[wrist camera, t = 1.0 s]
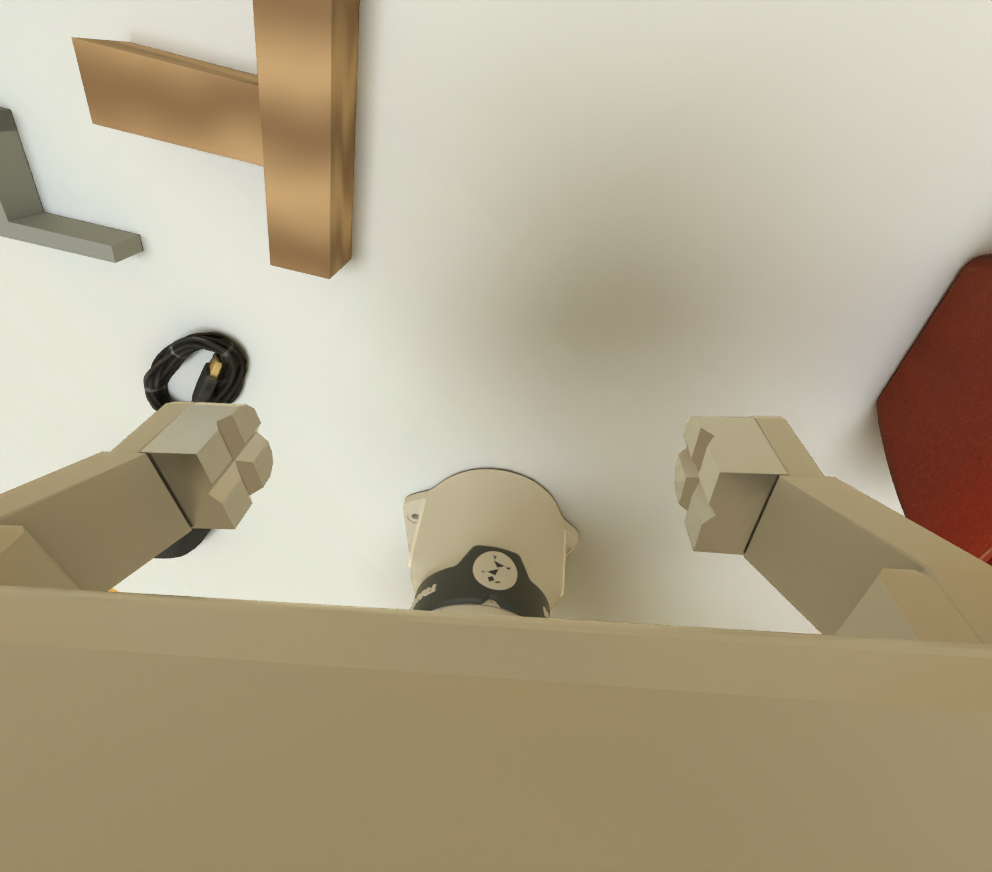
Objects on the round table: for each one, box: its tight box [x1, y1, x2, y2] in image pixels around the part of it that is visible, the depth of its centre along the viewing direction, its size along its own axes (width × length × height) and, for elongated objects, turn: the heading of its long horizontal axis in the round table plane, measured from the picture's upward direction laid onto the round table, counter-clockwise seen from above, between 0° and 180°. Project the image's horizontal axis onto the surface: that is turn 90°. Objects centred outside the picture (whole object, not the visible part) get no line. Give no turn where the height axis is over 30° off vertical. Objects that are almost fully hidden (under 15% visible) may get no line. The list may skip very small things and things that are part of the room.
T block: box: [72, 0, 359, 279], centre depth 30 cm, size 16×14×4 cm
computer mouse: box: [144, 333, 246, 558], centre depth 48 cm, size 10×32×6 cm, turn 150°
